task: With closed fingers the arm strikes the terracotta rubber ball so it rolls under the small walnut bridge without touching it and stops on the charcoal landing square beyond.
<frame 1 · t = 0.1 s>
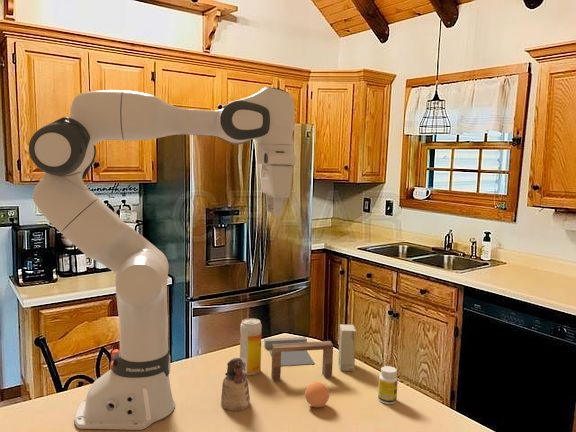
hand: (273, 214, 115), 48 cm above the kitchen island, tool pointing down, fingers open, 8 cm apart
beer can: (250, 371, 137), on the kitchen island
bridge: (301, 377, 134), on the kitchen island
supplement bottle: (387, 400, 122), on the kitchen island
figurine: (235, 404, 118), on the kitchen island
ball: (317, 394, 118), on the kitchen island
stopper: (285, 346, 156), on the kitchen island
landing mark: (291, 357, 147), on the kitchen island
skincare box: (346, 367, 142), on the kitchen island
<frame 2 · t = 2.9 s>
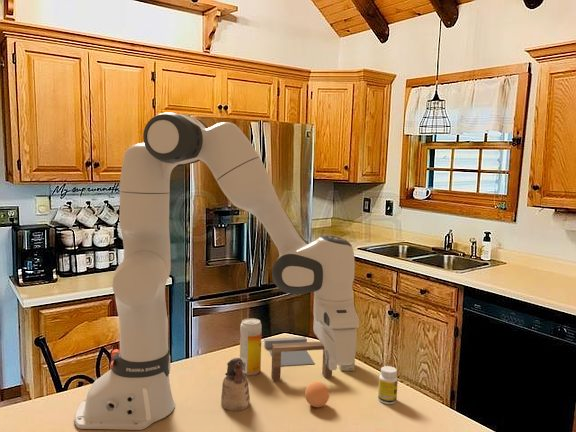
hand: (331, 367, 107), 15 cm above the kitchen island, tool pointing down, fingers closed
nothing on the kitchen island moved.
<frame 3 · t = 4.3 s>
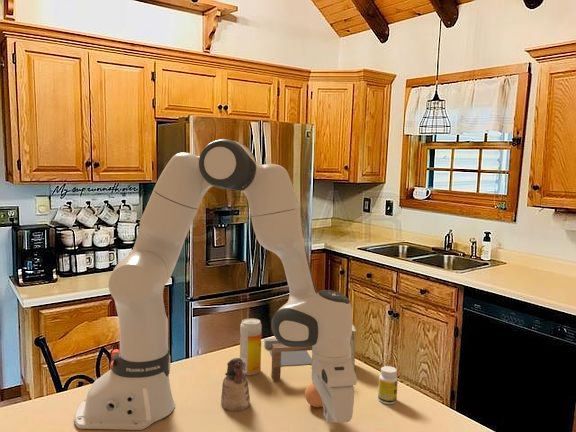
hand: (328, 419, 108), 2 cm above the kitchen island, tool pointing down, fingers closed
nothing on the kitchen island moved.
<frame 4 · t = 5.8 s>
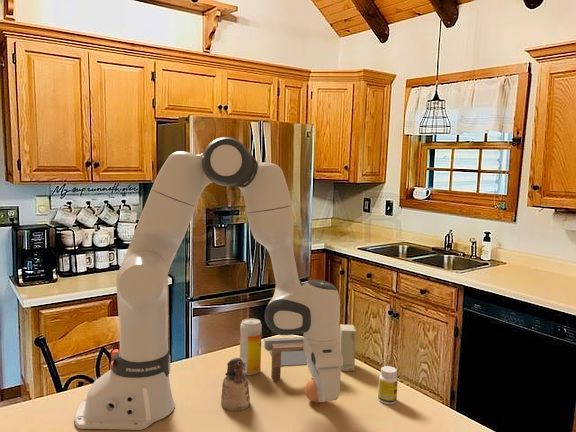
hand: (321, 400, 117), 2 cm above the kitchen island, tool pointing down, fingers closed
ball: (316, 389, 120), on the kitchen island, touching gripper
everything else where it was.
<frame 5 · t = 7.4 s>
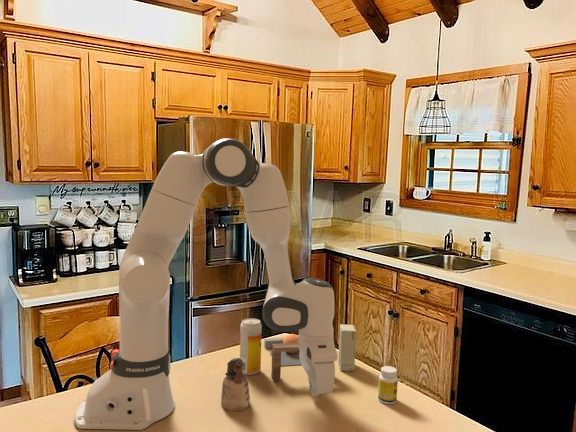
hand: (313, 393, 121), 2 cm above the kitchen island, tool pointing down, fingers closed
ball: (292, 343, 151), on the kitchen island
everything else where it was.
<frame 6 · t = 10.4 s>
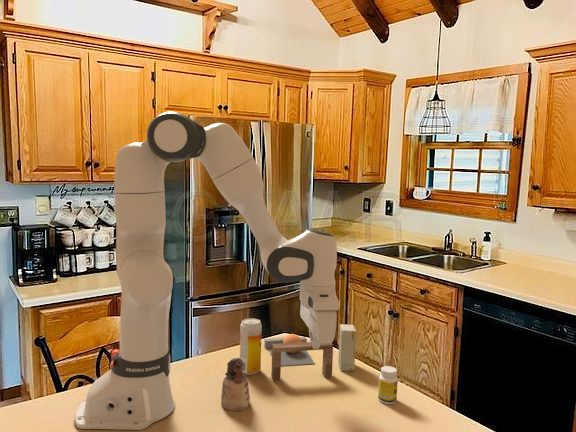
hand: (314, 346, 119), 14 cm above the kitchen island, tool pointing down, fingers closed
nothing on the kitchen island moved.
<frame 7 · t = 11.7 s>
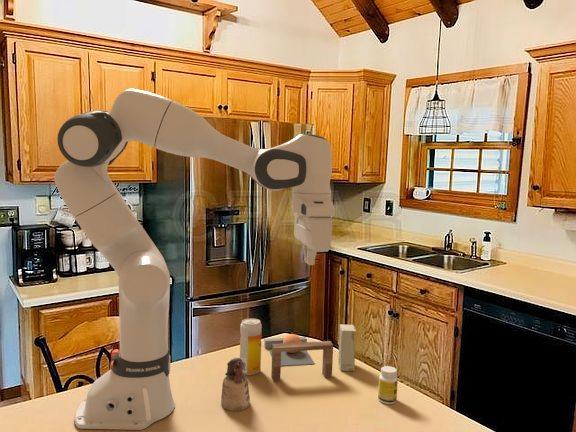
hand: (309, 263, 110), 37 cm above the kitchen island, tool pointing down, fingers closed
nothing on the kitchen island moved.
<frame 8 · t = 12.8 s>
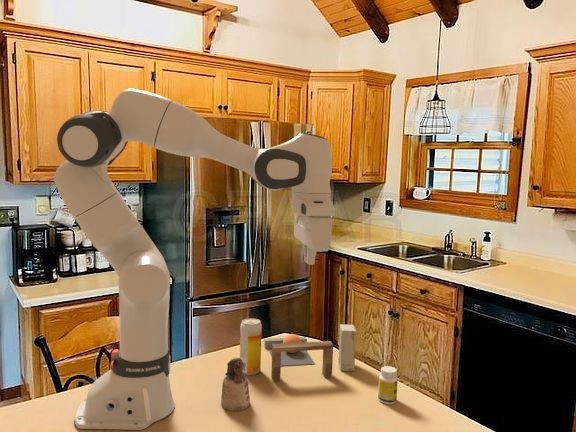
hand: (309, 263, 110), 37 cm above the kitchen island, tool pointing down, fingers closed
nothing on the kitchen island moved.
at the end: ball 3.7 cm from the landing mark (horizontally); ball never touched bridge; ball at rest at the end (0.0 cm/s) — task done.
